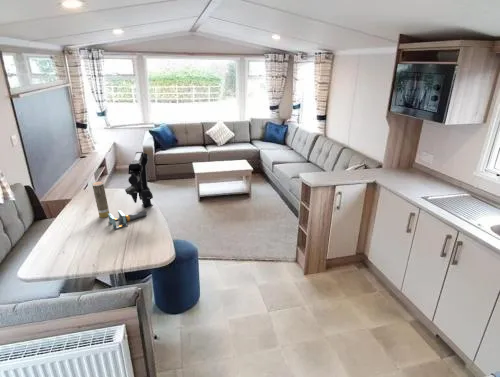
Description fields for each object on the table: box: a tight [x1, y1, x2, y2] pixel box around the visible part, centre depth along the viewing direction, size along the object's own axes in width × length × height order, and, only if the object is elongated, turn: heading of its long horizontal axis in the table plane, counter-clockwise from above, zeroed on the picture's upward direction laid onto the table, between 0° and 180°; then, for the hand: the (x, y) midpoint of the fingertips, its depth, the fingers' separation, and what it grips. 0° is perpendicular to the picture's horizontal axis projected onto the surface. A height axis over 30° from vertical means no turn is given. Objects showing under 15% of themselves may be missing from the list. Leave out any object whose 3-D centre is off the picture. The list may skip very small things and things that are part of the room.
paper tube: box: [92, 181, 110, 219], centre depth 215 cm, size 7×7×25 cm
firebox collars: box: [108, 209, 128, 231], centre depth 207 cm, size 14×8×7 cm, turn 38°
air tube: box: [117, 210, 147, 224], centre depth 214 cm, size 18×4×4 cm, turn 128°
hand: (139, 203), depth 210 cm, fingers open, 9 cm apart
